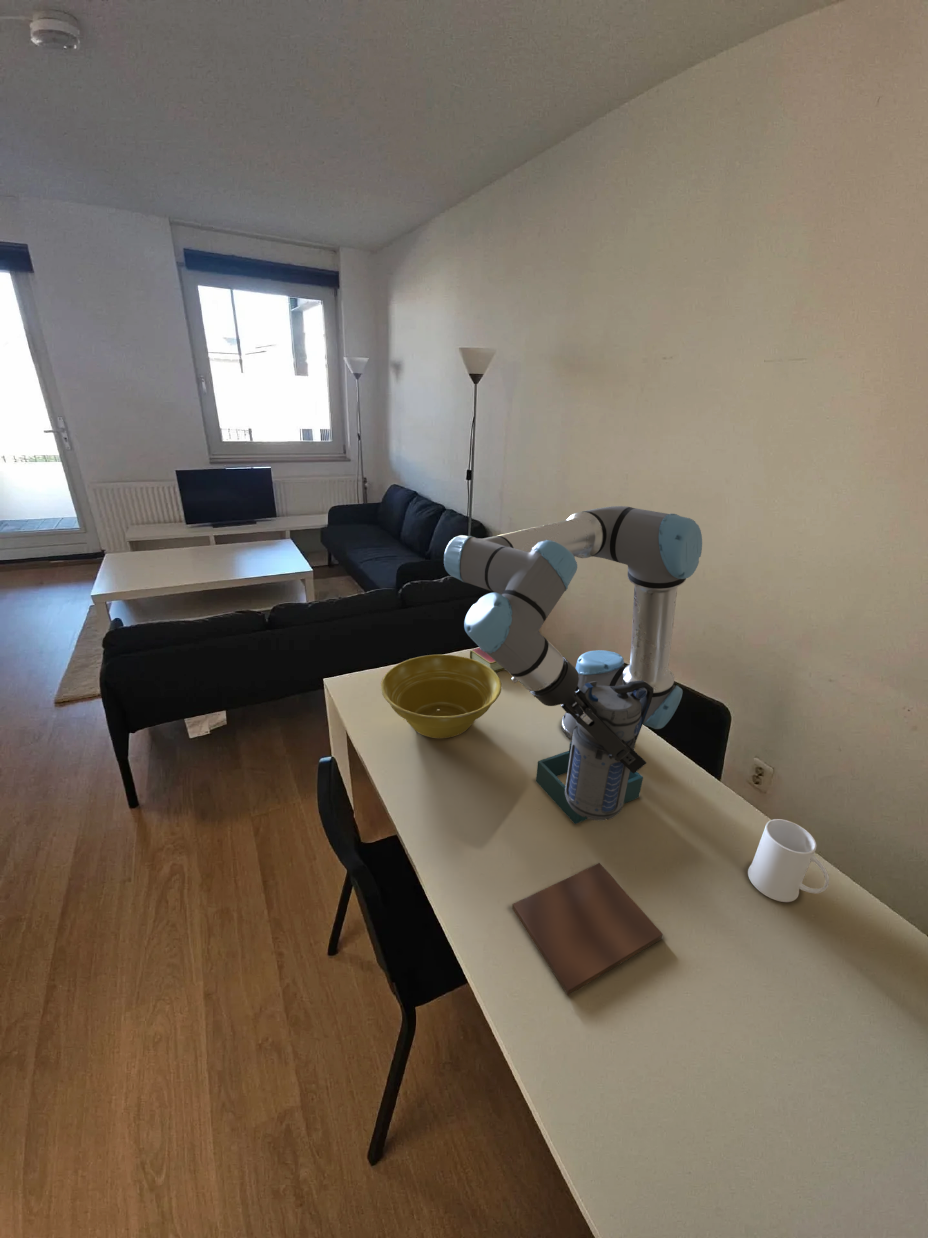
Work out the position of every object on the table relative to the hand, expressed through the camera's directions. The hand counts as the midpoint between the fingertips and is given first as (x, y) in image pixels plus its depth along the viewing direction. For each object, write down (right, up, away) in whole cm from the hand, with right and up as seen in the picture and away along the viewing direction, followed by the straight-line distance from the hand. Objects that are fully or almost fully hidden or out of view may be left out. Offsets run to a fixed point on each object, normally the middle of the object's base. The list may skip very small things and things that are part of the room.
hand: (622, 746), depth 87 cm
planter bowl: (-34, -8, +54) cm, 64 cm away
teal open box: (+1, -18, +32) cm, 37 cm away
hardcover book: (-13, +7, +90) cm, 91 cm away
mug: (+33, -29, +9) cm, 45 cm away
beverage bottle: (-3, -11, +4) cm, 12 cm away
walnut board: (-6, -31, +1) cm, 32 cm away
